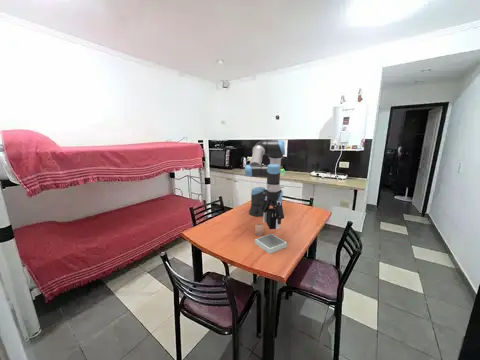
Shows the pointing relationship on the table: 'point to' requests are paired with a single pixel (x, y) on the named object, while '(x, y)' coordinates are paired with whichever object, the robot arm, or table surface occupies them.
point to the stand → (270, 243)
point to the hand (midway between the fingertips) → (271, 225)
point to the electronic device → (271, 218)
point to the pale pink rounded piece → (259, 229)
